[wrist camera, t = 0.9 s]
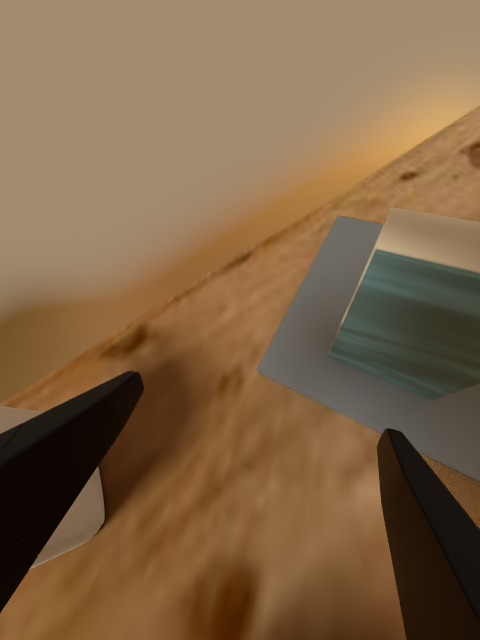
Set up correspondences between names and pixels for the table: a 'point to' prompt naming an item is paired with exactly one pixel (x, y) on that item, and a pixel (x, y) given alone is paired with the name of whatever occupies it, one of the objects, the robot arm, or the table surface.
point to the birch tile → (417, 306)
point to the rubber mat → (355, 385)
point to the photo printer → (82, 513)
